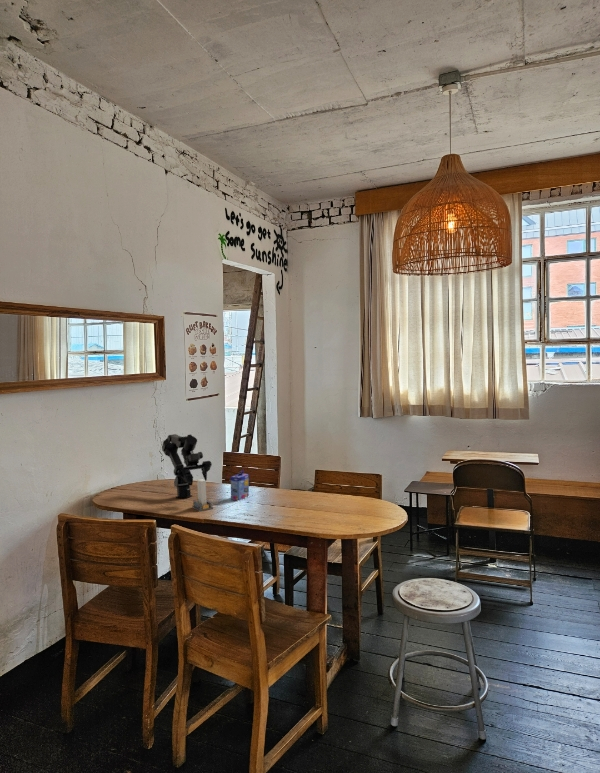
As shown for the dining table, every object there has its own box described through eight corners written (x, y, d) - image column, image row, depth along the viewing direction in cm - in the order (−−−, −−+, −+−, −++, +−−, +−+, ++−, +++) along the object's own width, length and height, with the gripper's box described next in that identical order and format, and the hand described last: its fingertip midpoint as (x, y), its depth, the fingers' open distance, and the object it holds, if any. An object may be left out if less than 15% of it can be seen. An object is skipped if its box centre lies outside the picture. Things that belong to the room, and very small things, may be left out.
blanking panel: (198, 505, 259) (197, 479, 259) (203, 504, 261) (201, 478, 260) (202, 507, 255) (200, 481, 255) (206, 506, 256) (205, 480, 256)
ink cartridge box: (239, 501, 269) (238, 473, 269) (230, 500, 272) (229, 472, 271) (249, 496, 278) (248, 469, 277) (241, 495, 281) (240, 468, 280)
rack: (192, 507, 260) (192, 500, 260) (205, 504, 264) (205, 498, 264) (199, 511, 252) (198, 504, 252) (212, 508, 256) (212, 502, 256)
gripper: (174, 449, 261) (182, 474, 252) (209, 445, 271) (218, 469, 262) (170, 462, 268) (178, 488, 259) (204, 458, 278) (213, 482, 269)
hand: (197, 481), depth 262 cm, fingers open, 9 cm apart
